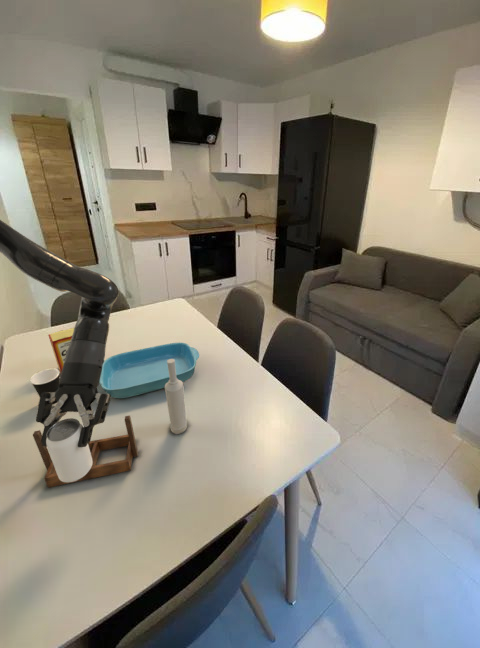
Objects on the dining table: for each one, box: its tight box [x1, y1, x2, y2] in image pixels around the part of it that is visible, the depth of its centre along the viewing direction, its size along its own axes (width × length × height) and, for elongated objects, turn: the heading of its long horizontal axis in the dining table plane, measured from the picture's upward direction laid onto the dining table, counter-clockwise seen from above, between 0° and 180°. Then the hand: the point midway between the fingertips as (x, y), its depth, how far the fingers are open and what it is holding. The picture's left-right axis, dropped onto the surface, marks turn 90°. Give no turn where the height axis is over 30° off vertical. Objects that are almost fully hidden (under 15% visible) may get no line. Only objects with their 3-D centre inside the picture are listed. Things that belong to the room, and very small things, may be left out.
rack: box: [32, 415, 139, 488], centre depth 75 cm, size 22×9×14 cm, turn 105°
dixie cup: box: [29, 367, 61, 408], centre depth 96 cm, size 8×8×11 cm
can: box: [46, 417, 93, 483], centre depth 60 cm, size 6×6×12 cm
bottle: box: [164, 359, 188, 435], centre depth 85 cm, size 5×5×25 cm
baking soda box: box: [47, 326, 75, 373], centre depth 112 cm, size 10×6×16 cm
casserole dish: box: [99, 342, 200, 399], centre depth 110 cm, size 37×22×7 cm, turn 115°
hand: (64, 446), depth 59 cm, fingers closed on can, 6 cm apart
